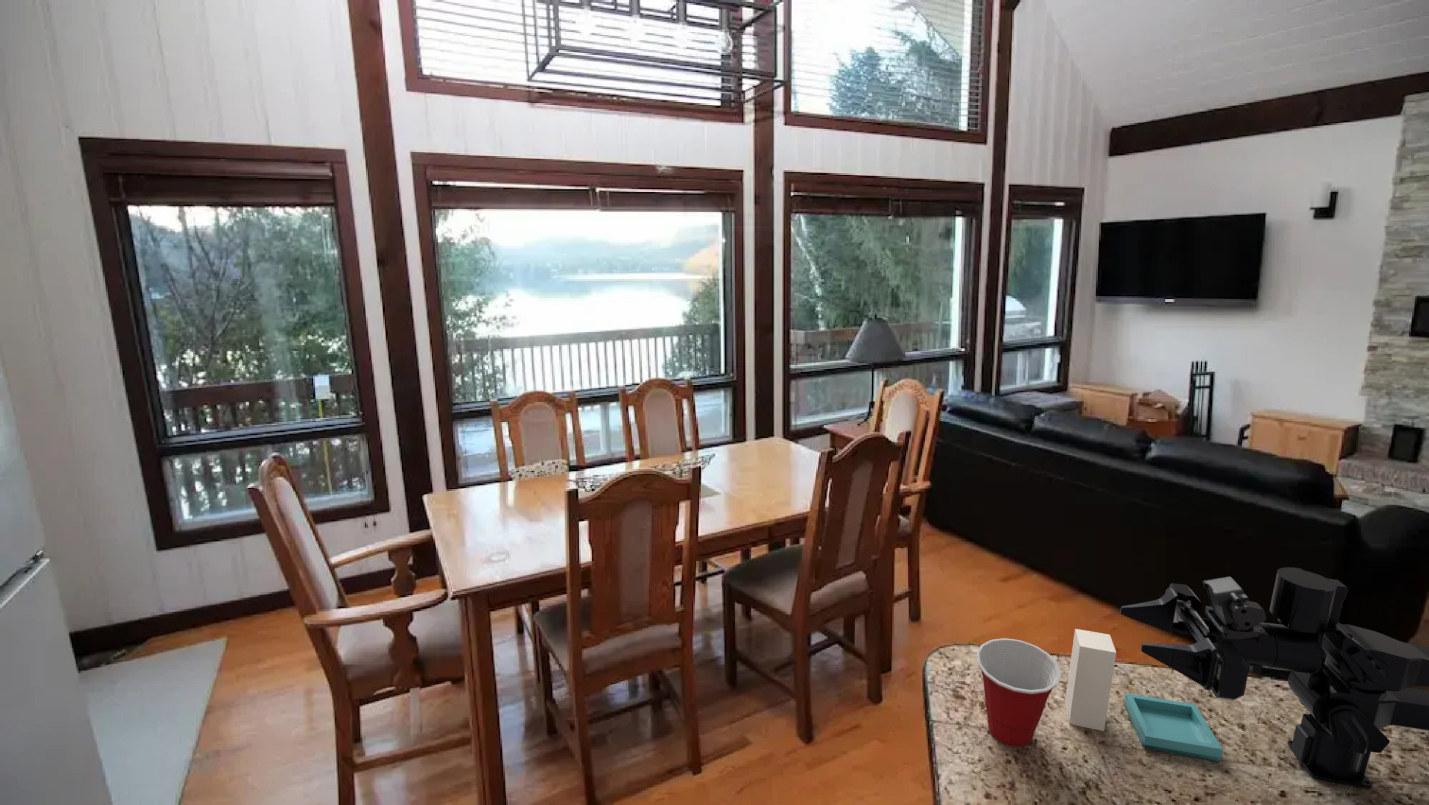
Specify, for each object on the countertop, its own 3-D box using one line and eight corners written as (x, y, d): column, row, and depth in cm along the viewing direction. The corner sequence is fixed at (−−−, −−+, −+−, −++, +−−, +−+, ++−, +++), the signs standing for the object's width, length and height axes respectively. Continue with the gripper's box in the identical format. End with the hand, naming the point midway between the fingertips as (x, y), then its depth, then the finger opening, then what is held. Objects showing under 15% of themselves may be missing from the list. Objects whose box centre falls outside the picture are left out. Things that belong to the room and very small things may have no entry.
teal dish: (1193, 715, 97) (1195, 704, 96) (1219, 761, 88) (1222, 749, 88) (1123, 704, 99) (1125, 693, 99) (1143, 748, 91) (1145, 736, 90)
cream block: (1098, 710, 98) (1109, 634, 95) (1104, 731, 94) (1116, 652, 91) (1064, 703, 100) (1075, 628, 96) (1069, 723, 95) (1080, 646, 92)
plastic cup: (964, 745, 92) (971, 672, 89) (974, 698, 101) (980, 630, 98) (1051, 773, 87) (1061, 696, 84) (1052, 721, 96) (1062, 650, 93)
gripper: (1242, 557, 93) (1118, 545, 97) (1317, 631, 75) (1162, 612, 80) (1229, 626, 95) (1109, 611, 100) (1299, 713, 78) (1150, 690, 82)
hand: (1130, 628), depth 90 cm, fingers open, 9 cm apart
